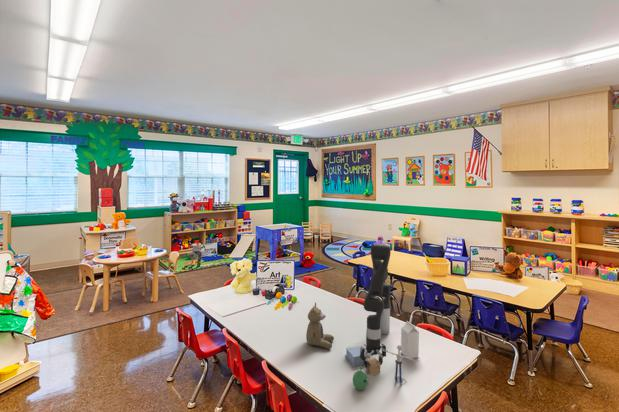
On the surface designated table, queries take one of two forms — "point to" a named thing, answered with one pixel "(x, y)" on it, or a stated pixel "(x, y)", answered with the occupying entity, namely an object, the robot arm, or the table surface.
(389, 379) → the table surface
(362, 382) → the alien toy
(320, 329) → the bear
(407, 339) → the milk carton
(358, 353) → the pedestal
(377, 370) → the walnut block
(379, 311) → the robot arm
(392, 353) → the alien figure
